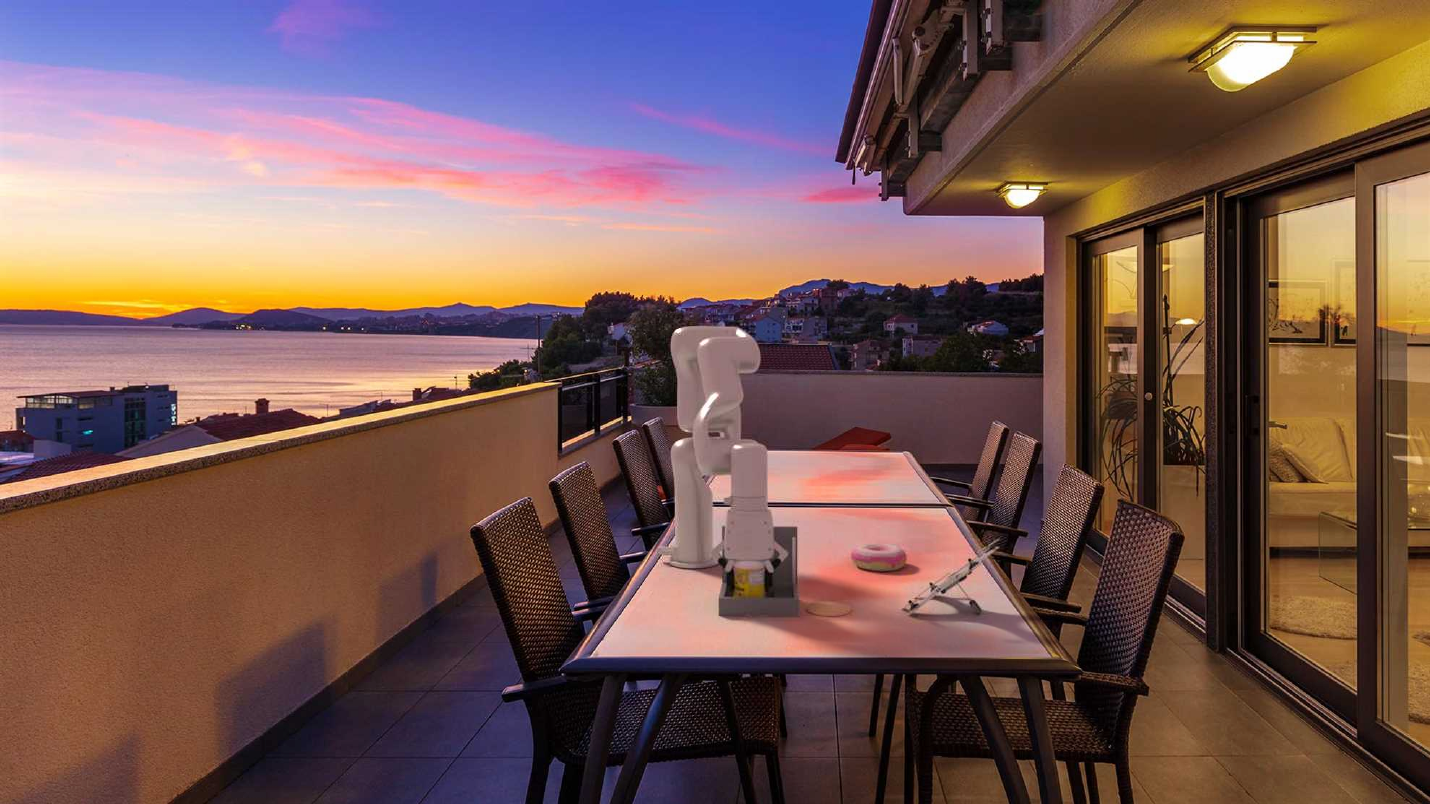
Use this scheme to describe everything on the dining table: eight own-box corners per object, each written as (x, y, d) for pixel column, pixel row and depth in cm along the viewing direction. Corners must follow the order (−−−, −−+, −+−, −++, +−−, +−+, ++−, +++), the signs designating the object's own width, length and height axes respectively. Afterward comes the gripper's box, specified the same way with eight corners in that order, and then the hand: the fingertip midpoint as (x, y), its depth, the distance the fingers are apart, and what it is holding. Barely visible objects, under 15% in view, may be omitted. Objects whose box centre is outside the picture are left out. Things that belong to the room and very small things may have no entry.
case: (718, 615, 166) (718, 538, 165) (722, 597, 179) (722, 525, 178) (799, 616, 165) (799, 539, 164) (797, 598, 178) (797, 526, 177)
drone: (1036, 569, 171) (1003, 530, 174) (1015, 597, 152) (979, 551, 155) (951, 626, 181) (921, 588, 184) (921, 659, 161) (889, 615, 164)
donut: (850, 572, 200) (850, 551, 200) (851, 559, 213) (851, 540, 213) (908, 574, 198) (908, 554, 197) (905, 561, 211) (905, 542, 211)
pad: (806, 616, 165) (806, 614, 165) (804, 603, 174) (804, 601, 174) (852, 616, 165) (852, 614, 165) (848, 603, 174) (848, 601, 174)
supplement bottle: (728, 604, 174) (728, 543, 173) (757, 601, 176) (757, 540, 175) (740, 613, 167) (740, 550, 167) (771, 609, 170) (770, 547, 169)
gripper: (705, 506, 167) (706, 594, 168) (792, 507, 166) (792, 595, 167) (708, 500, 175) (709, 584, 176) (791, 501, 174) (791, 585, 175)
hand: (749, 589), depth 171 cm, fingers closed on supplement bottle, 6 cm apart
